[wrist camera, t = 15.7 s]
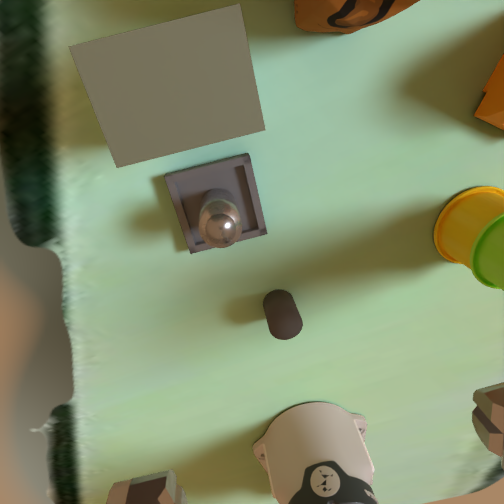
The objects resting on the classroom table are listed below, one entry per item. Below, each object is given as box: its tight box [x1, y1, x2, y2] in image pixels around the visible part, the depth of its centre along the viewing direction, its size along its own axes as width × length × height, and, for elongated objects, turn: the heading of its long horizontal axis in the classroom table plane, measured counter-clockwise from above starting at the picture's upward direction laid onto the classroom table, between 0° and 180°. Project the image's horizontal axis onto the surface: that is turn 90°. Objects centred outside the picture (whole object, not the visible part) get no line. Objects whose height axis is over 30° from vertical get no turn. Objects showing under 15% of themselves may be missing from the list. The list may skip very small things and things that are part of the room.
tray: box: [164, 153, 267, 254], centre depth 38 cm, size 9×9×2 cm
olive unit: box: [69, 3, 265, 168], centre depth 27 cm, size 8×10×14 cm
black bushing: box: [263, 290, 303, 340], centre depth 43 cm, size 4×4×5 cm
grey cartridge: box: [199, 188, 242, 248], centre depth 35 cm, size 4×4×8 cm
